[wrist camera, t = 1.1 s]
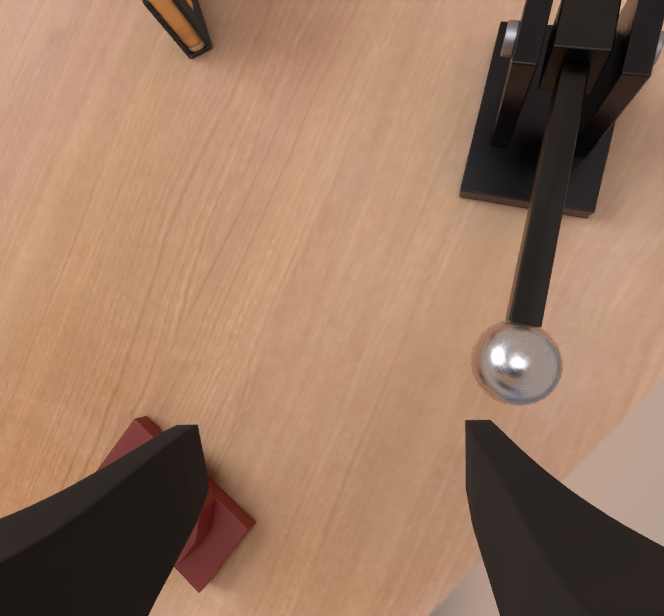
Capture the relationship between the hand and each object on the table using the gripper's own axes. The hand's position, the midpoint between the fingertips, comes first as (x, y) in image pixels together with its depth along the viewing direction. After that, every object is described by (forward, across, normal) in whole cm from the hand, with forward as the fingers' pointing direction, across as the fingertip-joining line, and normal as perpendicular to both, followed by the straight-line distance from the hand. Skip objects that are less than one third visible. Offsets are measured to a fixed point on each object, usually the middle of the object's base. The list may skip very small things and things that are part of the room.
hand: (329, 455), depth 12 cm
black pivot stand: (+19, -11, -9) cm, 23 cm away
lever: (+10, -8, -5) cm, 14 cm away
